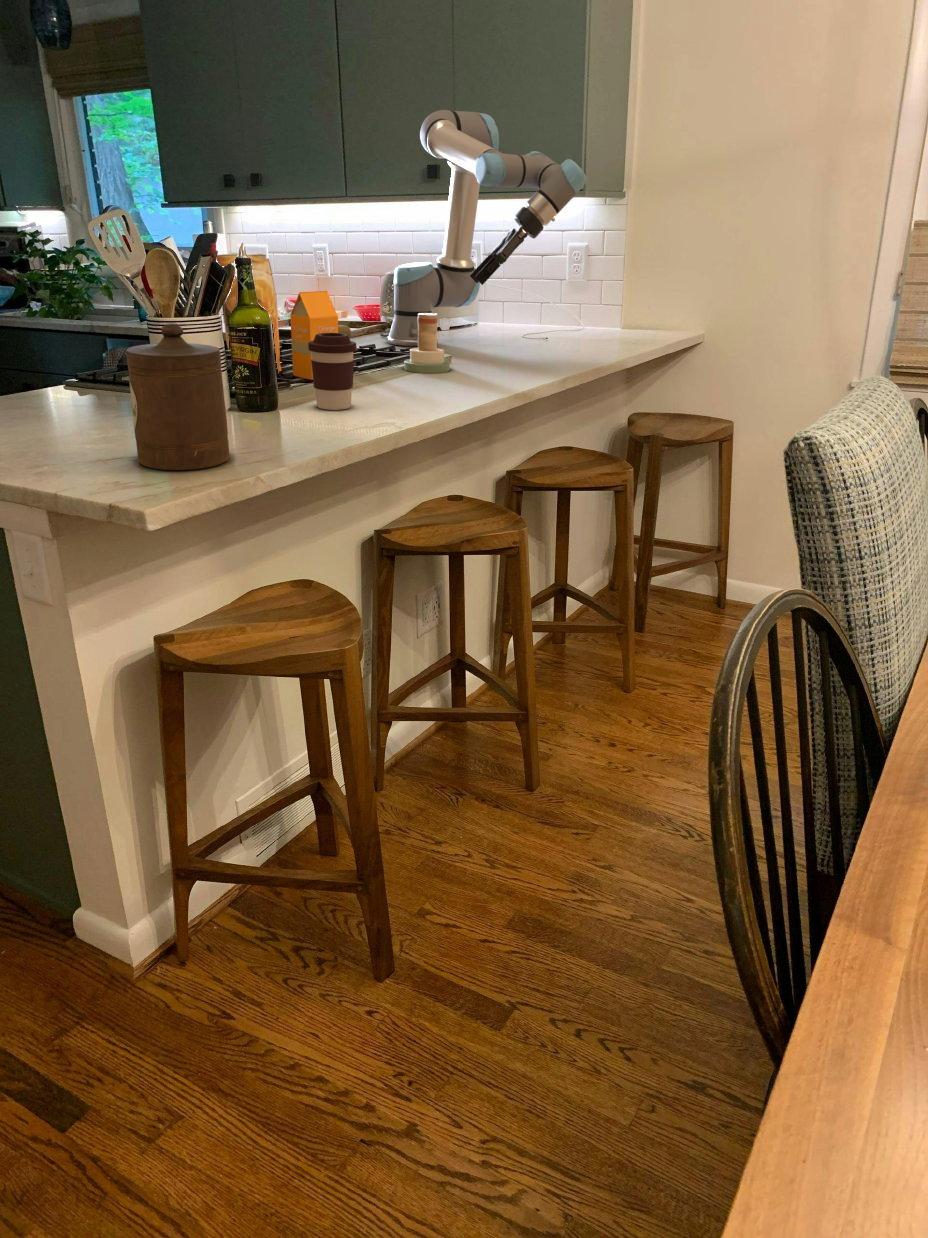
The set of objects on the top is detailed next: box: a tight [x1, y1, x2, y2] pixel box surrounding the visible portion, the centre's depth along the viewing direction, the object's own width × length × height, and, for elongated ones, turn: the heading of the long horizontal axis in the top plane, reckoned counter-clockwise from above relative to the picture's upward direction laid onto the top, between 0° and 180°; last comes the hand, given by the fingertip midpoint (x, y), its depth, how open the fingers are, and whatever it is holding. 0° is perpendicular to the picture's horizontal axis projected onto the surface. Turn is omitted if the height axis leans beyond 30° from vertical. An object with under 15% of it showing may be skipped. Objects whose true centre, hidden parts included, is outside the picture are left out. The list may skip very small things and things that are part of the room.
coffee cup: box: [308, 333, 357, 411], centre depth 197 cm, size 10×10×15 cm
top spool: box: [417, 312, 439, 351], centre depth 243 cm, size 5×5×9 cm
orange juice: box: [290, 290, 339, 381], centre depth 229 cm, size 8×9×20 cm
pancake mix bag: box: [217, 253, 282, 374], centre depth 226 cm, size 7×19×28 cm, turn 141°
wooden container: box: [126, 322, 230, 471], centre depth 153 cm, size 15×15×22 cm
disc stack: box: [403, 347, 451, 374], centre depth 246 cm, size 12×12×5 cm
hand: (475, 280), depth 240 cm, fingers open, 13 cm apart
